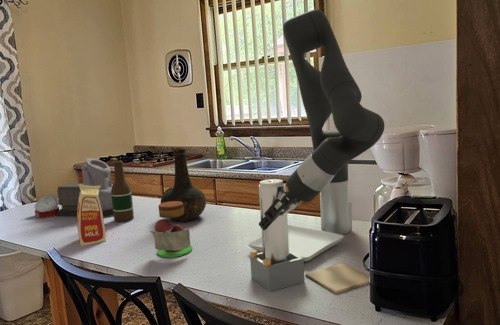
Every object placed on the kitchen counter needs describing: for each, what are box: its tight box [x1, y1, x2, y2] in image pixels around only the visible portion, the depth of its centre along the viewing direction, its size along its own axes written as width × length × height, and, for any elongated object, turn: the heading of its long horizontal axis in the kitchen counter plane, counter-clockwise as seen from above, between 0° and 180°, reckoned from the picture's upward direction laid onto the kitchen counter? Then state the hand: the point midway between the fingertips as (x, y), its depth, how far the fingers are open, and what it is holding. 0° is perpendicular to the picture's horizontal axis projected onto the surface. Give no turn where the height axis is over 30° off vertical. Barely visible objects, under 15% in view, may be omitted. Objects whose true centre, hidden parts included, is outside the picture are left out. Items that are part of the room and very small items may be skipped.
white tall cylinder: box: [258, 178, 290, 265], centre depth 103 cm, size 6×6×25 cm
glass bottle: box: [160, 147, 207, 222], centre depth 165 cm, size 18×18×28 cm
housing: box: [249, 249, 305, 293], centre depth 104 cm, size 10×10×7 cm
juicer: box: [54, 157, 114, 219], centre depth 184 cm, size 30×16×24 cm, turn 74°
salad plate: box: [247, 224, 345, 262], centre depth 126 cm, size 21×21×3 cm
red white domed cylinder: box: [34, 194, 60, 219], centre depth 187 cm, size 11×10×10 cm
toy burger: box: [149, 201, 193, 258], centre depth 129 cm, size 12×13×15 cm
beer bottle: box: [111, 160, 135, 223], centre depth 169 cm, size 8×8×24 cm
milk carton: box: [76, 185, 107, 247], centre depth 145 cm, size 9×9×20 cm
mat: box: [305, 262, 370, 295], centre depth 103 cm, size 12×12×1 cm
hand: (268, 223), depth 104 cm, fingers closed on white tall cylinder, 6 cm apart
